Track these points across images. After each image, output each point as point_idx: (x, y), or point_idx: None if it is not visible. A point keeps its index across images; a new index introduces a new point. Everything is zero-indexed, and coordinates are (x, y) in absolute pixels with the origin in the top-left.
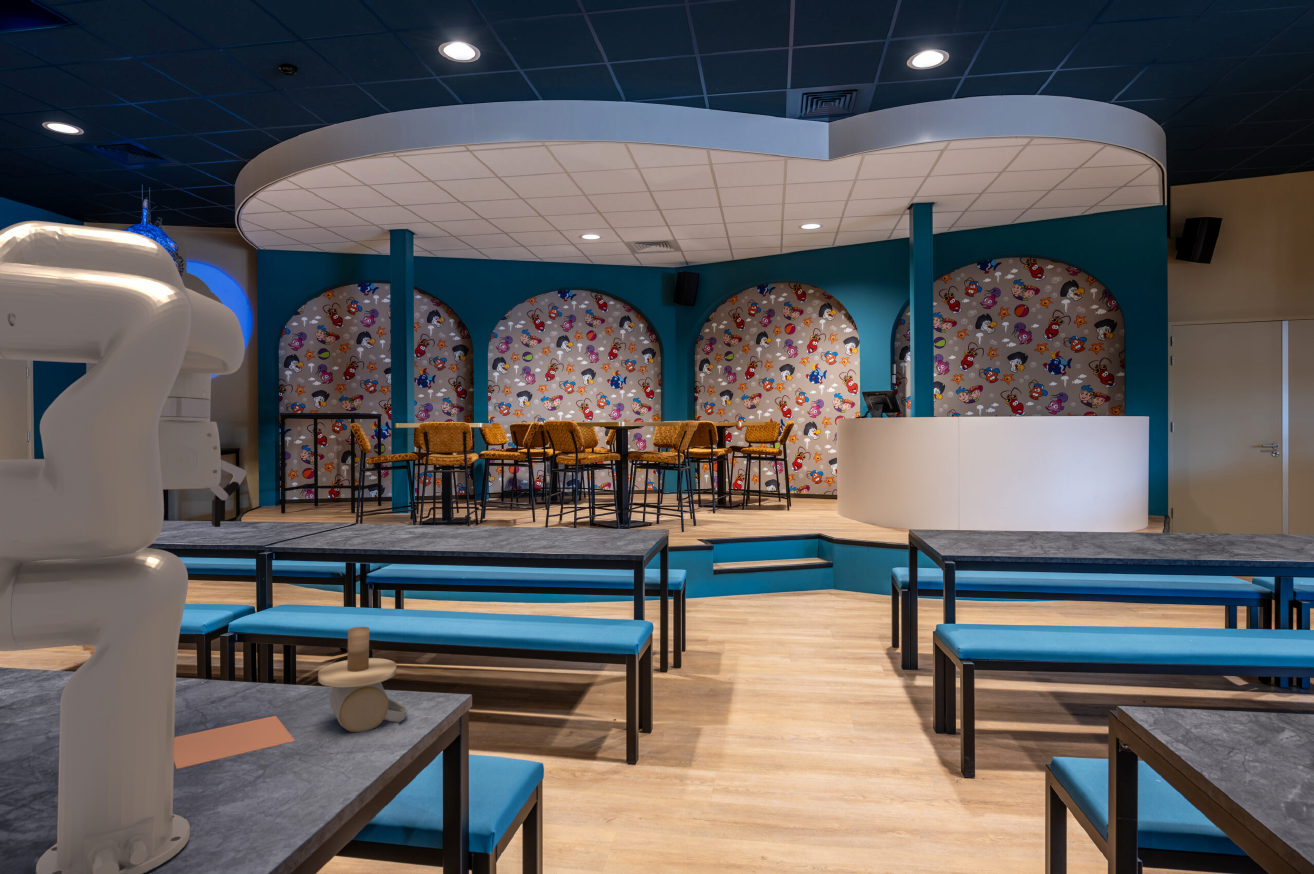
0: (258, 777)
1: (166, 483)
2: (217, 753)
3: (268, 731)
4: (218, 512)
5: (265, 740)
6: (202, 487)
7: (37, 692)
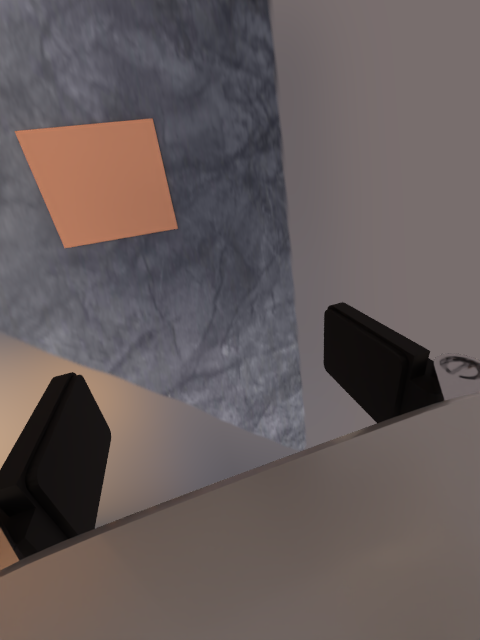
0: (46, 28)
1: (425, 450)
2: (114, 143)
3: (62, 191)
4: (38, 418)
5: (60, 157)
6: (78, 535)
7: (289, 404)
